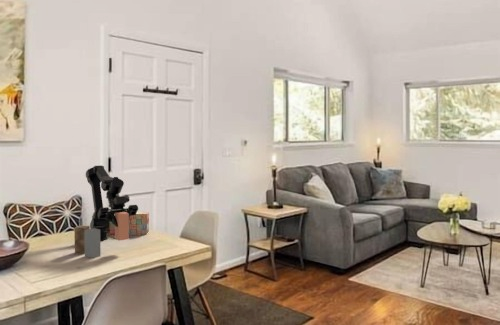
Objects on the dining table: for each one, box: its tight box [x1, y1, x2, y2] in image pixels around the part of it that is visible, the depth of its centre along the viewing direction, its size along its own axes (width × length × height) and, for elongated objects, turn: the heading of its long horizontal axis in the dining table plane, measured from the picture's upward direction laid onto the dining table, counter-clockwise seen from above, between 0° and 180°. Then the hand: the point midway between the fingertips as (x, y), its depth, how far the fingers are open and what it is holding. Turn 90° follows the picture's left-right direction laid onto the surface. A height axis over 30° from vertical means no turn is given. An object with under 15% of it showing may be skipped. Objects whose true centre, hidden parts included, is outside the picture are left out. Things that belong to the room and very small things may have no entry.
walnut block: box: [74, 225, 90, 255], centre depth 210 cm, size 5×5×12 cm
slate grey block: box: [84, 228, 102, 259], centre depth 203 cm, size 5×5×12 cm
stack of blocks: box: [109, 211, 150, 236], centre depth 252 cm, size 21×6×12 cm, turn 93°
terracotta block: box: [114, 212, 130, 241], centre depth 209 cm, size 5×5×12 cm
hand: (122, 225), depth 208 cm, fingers closed on terracotta block, 5 cm apart
